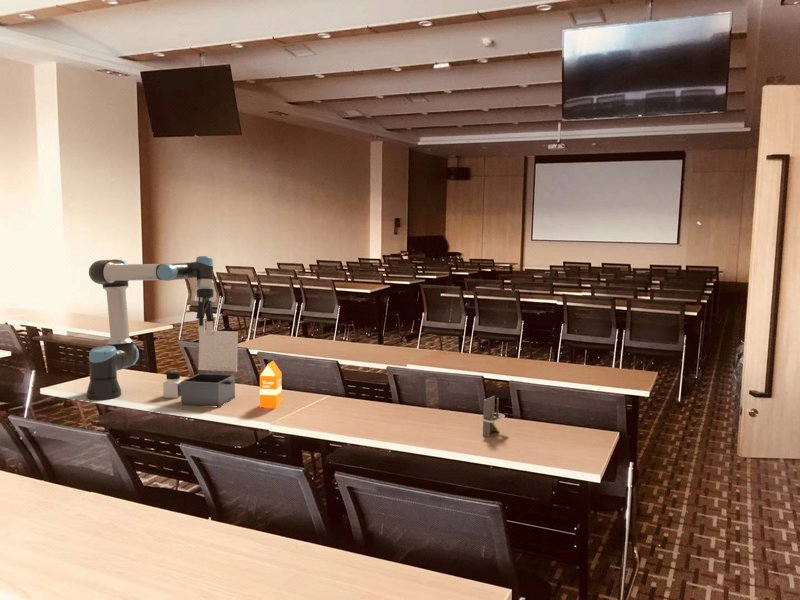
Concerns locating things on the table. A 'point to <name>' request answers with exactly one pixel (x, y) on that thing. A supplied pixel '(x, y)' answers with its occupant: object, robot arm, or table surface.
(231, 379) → the grey storage box
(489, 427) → the architectural model
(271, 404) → the orange juice
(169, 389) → the medicine bottle
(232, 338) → the gray box lid
